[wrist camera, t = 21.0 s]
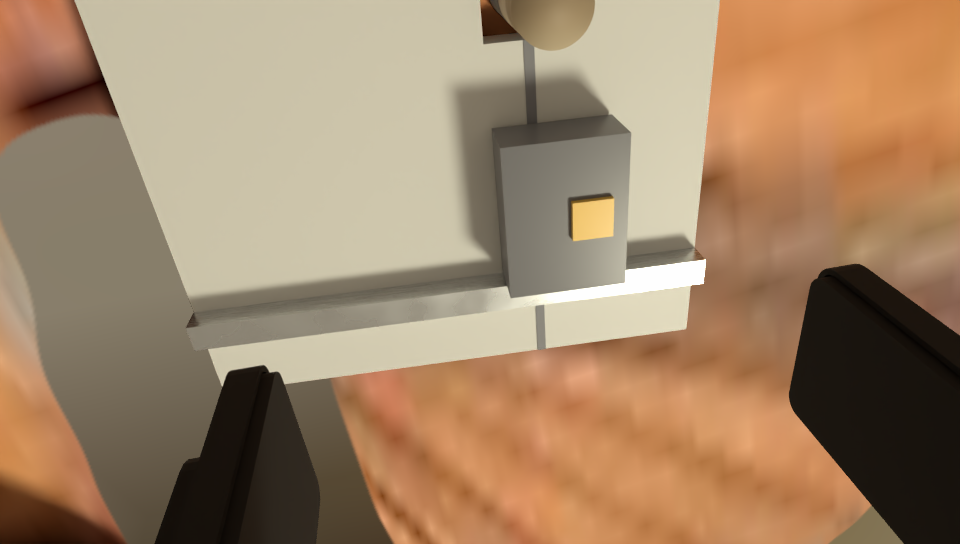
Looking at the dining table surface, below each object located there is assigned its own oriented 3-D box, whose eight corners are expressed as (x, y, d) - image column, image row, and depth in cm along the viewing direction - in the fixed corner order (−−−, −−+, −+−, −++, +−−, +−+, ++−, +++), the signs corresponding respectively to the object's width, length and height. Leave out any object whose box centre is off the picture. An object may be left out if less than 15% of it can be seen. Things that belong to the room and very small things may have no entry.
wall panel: (70, -72, 26) (28, -70, 23) (713, -134, 28) (751, -139, 25) (232, 370, 38) (217, 409, 35) (673, 311, 40) (696, 343, 37)
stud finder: (491, 128, 30) (501, 150, 28) (611, 114, 31) (633, 134, 28) (502, 269, 34) (511, 301, 32) (608, 255, 35) (627, 286, 32)
